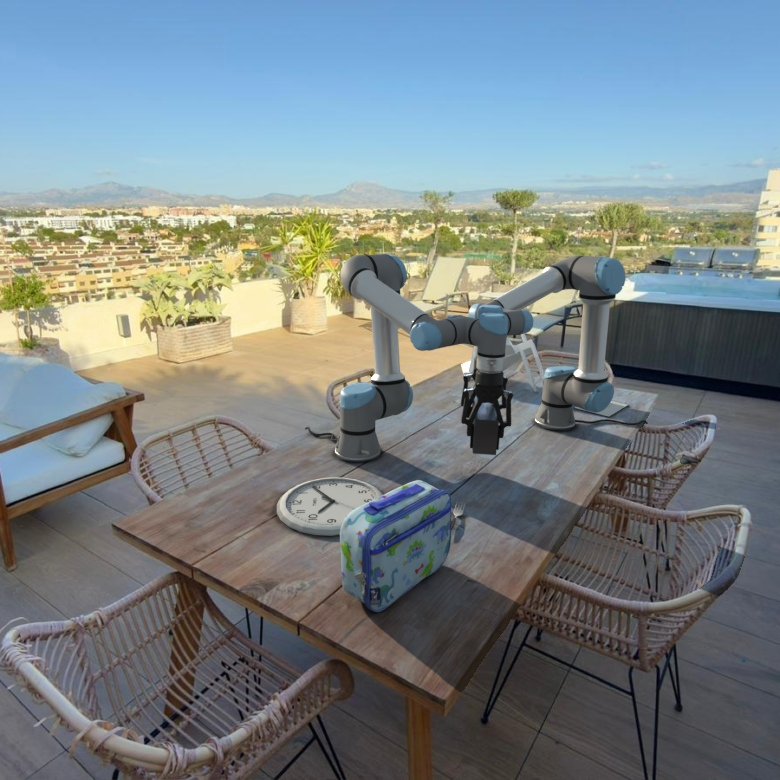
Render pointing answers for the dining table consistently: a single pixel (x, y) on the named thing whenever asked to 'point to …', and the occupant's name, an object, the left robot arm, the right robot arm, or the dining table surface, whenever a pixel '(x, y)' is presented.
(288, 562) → the dining table surface
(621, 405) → the invitation card
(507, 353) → the white plastic object
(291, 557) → the dining table surface
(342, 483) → the wall clock
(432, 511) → the lunch box
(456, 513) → the fork
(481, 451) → the box
